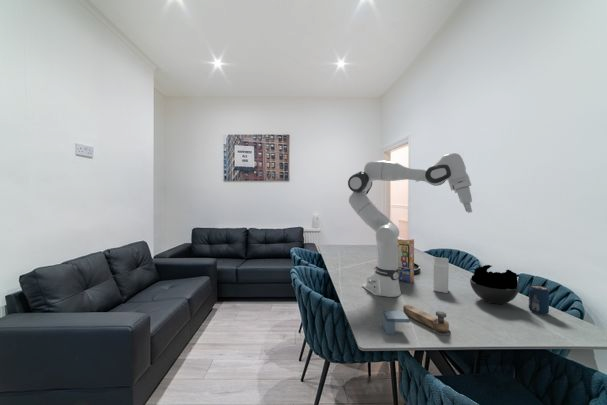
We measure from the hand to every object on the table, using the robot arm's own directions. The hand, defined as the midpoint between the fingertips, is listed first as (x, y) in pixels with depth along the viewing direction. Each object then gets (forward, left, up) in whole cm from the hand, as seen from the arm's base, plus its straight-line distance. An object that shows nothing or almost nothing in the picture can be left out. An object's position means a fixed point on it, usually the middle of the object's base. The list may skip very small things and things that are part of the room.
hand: (469, 211), depth 122 cm
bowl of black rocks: (+2, +18, -47) cm, 50 cm away
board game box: (-48, +4, -47) cm, 67 cm away
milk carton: (-21, +10, -47) cm, 52 cm away
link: (0, -32, -46) cm, 57 cm away
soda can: (+18, +24, -47) cm, 56 cm away
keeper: (-2, -48, -47) cm, 67 cm away
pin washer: (+7, -32, -47) cm, 57 cm away
